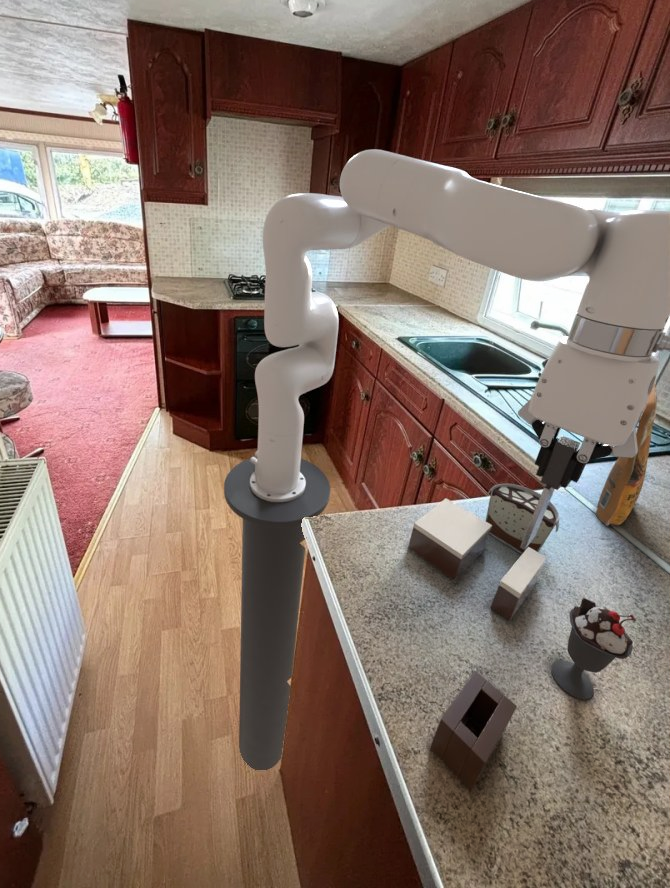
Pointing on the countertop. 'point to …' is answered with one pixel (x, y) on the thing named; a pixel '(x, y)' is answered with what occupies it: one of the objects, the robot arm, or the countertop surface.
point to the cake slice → (518, 583)
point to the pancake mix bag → (628, 473)
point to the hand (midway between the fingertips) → (554, 476)
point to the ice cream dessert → (518, 516)
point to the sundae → (591, 647)
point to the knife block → (459, 742)
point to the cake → (449, 538)
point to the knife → (551, 482)
